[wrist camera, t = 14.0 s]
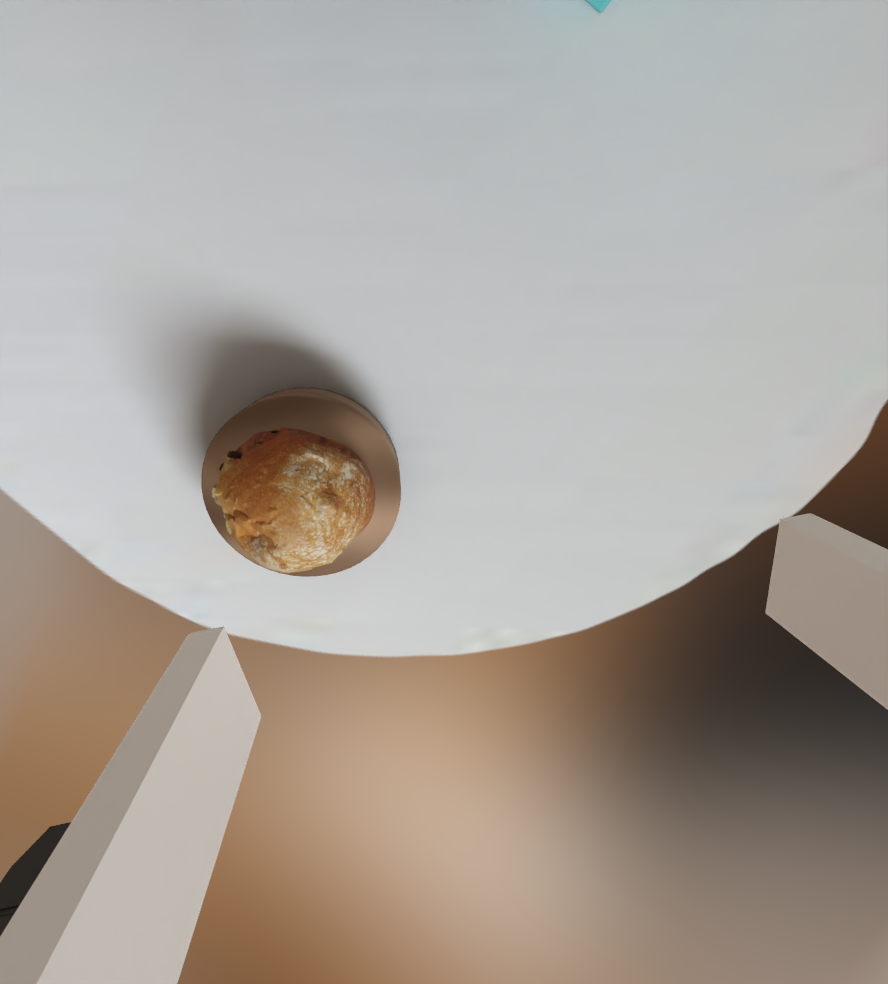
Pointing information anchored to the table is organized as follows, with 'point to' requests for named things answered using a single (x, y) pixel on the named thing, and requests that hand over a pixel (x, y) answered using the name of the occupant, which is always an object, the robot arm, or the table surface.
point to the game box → (599, 4)
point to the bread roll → (294, 498)
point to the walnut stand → (333, 422)
